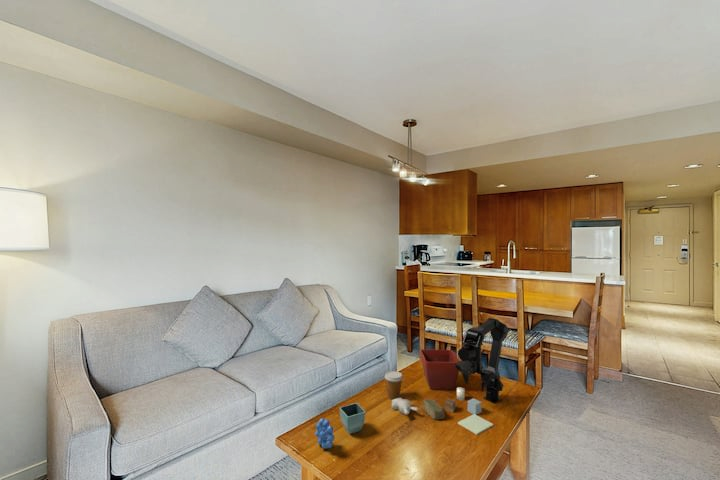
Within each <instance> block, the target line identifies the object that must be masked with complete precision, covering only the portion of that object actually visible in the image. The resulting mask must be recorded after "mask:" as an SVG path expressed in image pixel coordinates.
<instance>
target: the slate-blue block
mask: <svg viewBox="0 0 720 480" xmlns="http://www.w3.org/2000/svg"><path fill="white" fill-rule="evenodd" d="M467 412H469V413H470V414H472V415H473V414H475V415H477V416H478V415H479V414H480V413H482V401H480V400H478V399H475V398H470V399H469V400H467Z"/></svg>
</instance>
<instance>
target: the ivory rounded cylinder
mask: <svg viewBox="0 0 720 480" xmlns="http://www.w3.org/2000/svg"><path fill="white" fill-rule="evenodd" d="M465 393H466V391H465V388H464V387H462V386H461V387H459V386H458V387H456V400H458V401H465V396H466V394H465Z"/></svg>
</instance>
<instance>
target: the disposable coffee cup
mask: <svg viewBox="0 0 720 480" xmlns="http://www.w3.org/2000/svg"><path fill="white" fill-rule="evenodd" d="M403 377H404V376H403V374H402V373H401V372H399V371H397V370H389V371H386V372H385V375H384V379H385V385H386V387H385V388H386V395H387V398H388V399H389V400H391V401H392V400H393V399H397V398H400V395H401V387H402V381H403Z"/></svg>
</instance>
